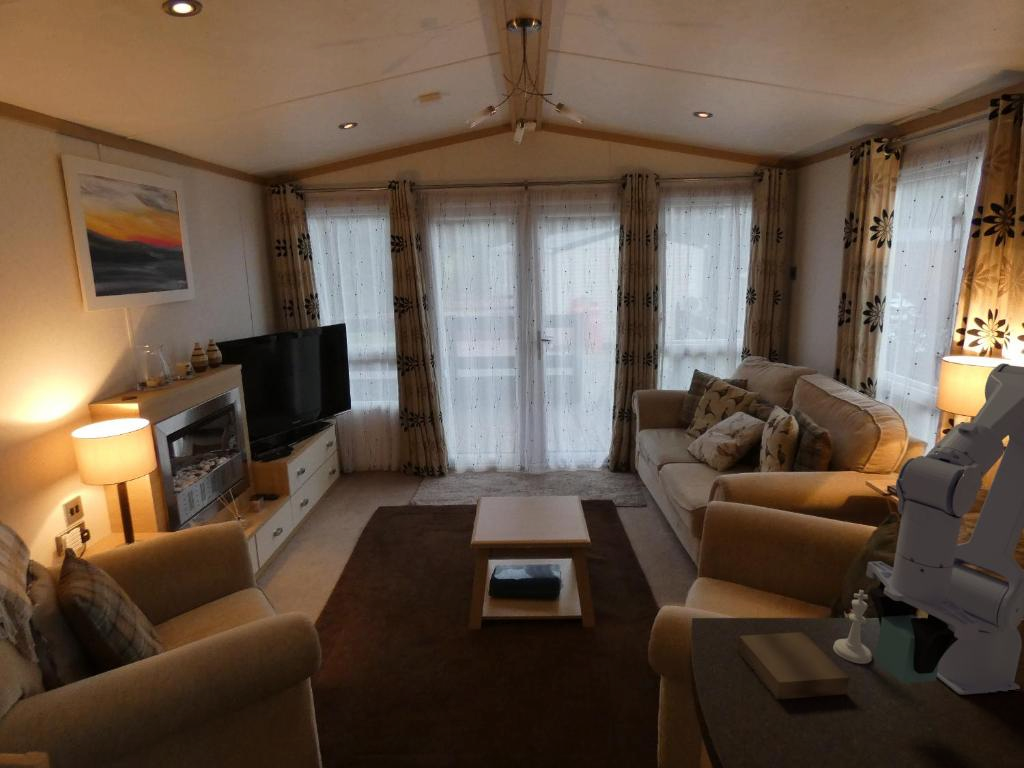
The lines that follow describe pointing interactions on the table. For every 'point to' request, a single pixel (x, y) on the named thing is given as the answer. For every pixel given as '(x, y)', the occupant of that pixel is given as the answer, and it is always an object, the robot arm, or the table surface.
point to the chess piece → (855, 635)
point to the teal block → (900, 649)
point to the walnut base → (792, 665)
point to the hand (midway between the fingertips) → (906, 657)
